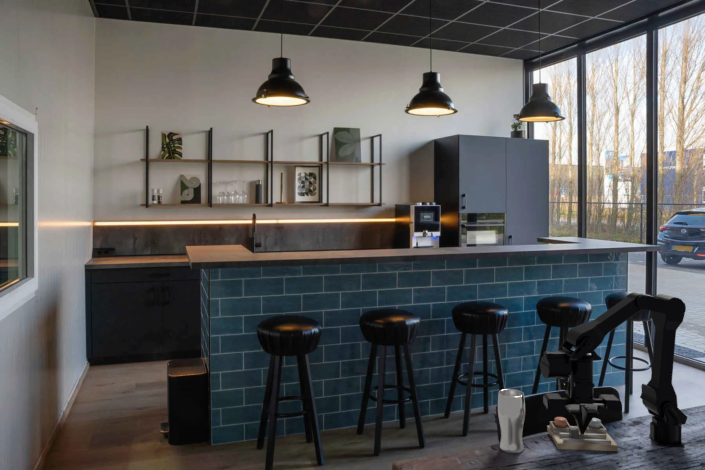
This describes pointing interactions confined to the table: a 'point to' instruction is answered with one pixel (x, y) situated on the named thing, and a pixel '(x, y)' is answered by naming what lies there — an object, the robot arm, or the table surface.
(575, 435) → the block
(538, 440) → the table surface
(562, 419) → the terracotta button
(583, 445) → the control panel
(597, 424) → the grey button
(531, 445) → the table surface
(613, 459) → the table surface
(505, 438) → the beer glass
